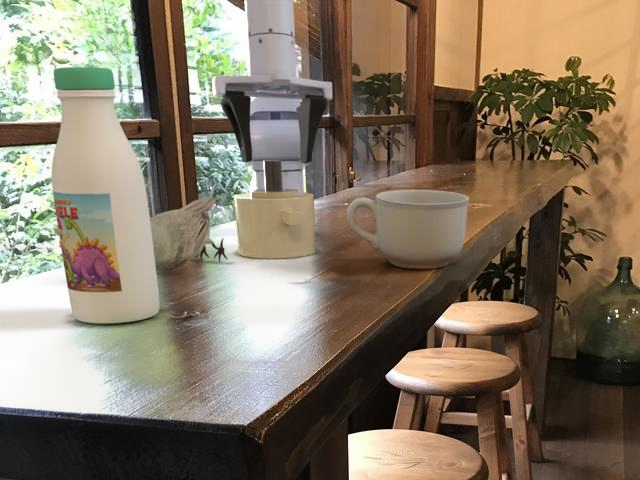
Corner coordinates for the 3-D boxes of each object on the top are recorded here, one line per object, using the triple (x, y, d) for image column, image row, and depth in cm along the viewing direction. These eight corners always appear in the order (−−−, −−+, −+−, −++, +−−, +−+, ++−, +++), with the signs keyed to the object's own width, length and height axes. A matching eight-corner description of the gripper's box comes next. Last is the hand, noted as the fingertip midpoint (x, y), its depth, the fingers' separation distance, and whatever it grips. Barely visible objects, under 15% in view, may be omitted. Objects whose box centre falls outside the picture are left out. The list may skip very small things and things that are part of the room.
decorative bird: (106, 282, 88) (95, 209, 85) (199, 259, 101) (193, 195, 97) (144, 286, 85) (134, 211, 82) (234, 262, 98) (229, 197, 95)
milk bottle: (133, 302, 78) (103, 70, 70) (177, 315, 73) (150, 67, 65) (57, 316, 73) (15, 68, 65) (99, 330, 68) (58, 64, 60)
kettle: (225, 246, 110) (218, 158, 105) (294, 241, 113) (291, 156, 108) (257, 264, 97) (251, 165, 92) (335, 258, 100) (333, 162, 95)
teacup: (465, 257, 100) (468, 189, 96) (466, 274, 90) (470, 198, 87) (353, 256, 101) (352, 189, 98) (343, 272, 91) (341, 198, 88)
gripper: (218, 26, 90) (227, 157, 94) (339, 36, 95) (343, 159, 99) (205, 41, 96) (213, 163, 100) (319, 49, 101) (323, 165, 105)
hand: (277, 162), depth 100 cm, fingers open, 7 cm apart
